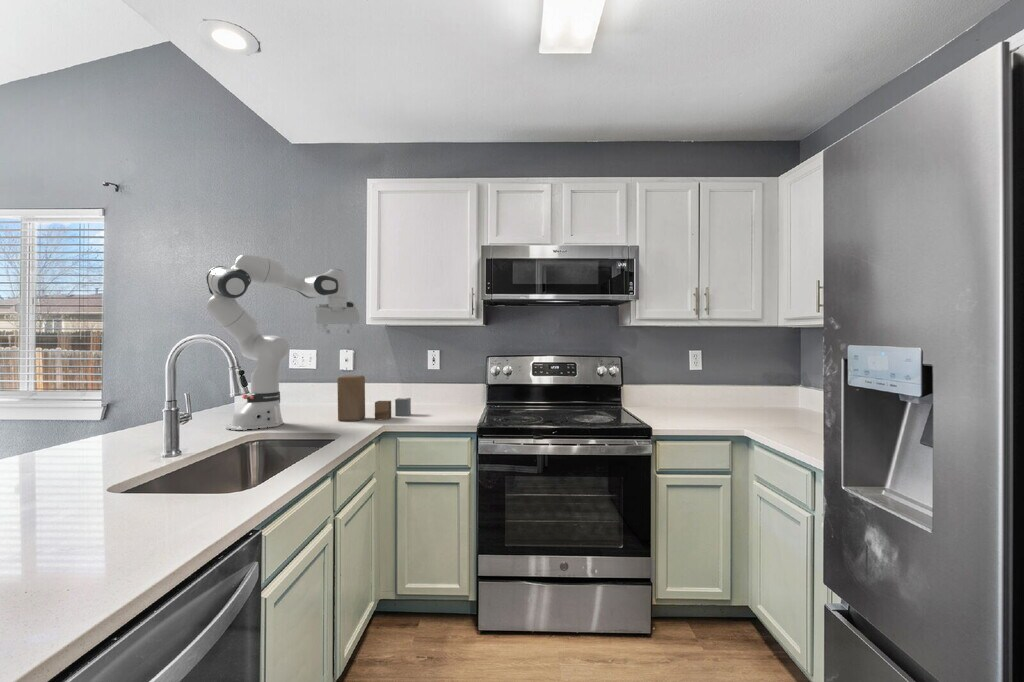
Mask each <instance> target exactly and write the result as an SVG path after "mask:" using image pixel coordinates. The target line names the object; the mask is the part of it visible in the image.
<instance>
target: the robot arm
mask: <svg viewBox="0 0 1024 682" xmlns="http://www.w3.org/2000/svg"><path fill="white" fill-rule="evenodd" d="M284 267H285V266H284V265H283V264H282V263H280V262H279V261H277V260H274V259H272V258H267V257H263V256H259V255H254V254H247V253H246V254H241V255H239V256H237V258H236V259H235V261H234V265H232V267H227V266H222V265H221V266H220V265H218V266H214V267H212V268H211V269H209V270H208V272H207V273H206V282H207V286H208V291H209V294H211V295H212V296H211V297H210V298H209V299H208V301H207V303H206V305H205V307H206V310H207V311H208V313H209V314H210V316H211V317H212V318H213V319H214V320H215V321H216V323H217V324H218V325H219V326H220V327H221V328H222V329H224V331H225V332H227V334H229V335H230V336H231V337H232V338H233V339H234V340H235V341H236V343H237V344H238V346H239V352H240V354H241V355H242V356H243V357H244V358H246V359H249V360H250V361H257V362H256V367H255V369H254V371H252V373H251V375H250V393H249V394H246V395H243V394H242V396H241V398H242V399H243V400H246V402H245V403H244V404H243V405H242V406H241V407H239V408H238V409H237V410H235V411H234V412H233V413H232V418H231V424H227V425H225V429H226V430H229V429H231V430H230V431H235V430H243V431H248V430H247V429H252V430H257V429H258V428H260V429H267V427H268V428H274V427H275V428H276V427H279V426H280V425H282V424H284V420H283V417H282V413H281V392H280V372H281V368H282V364H283V362H284V360H285V359H286V357H287V356H288V355H289V353H290V344H289V341H288V340H287V339H286V338H283V337H281V336H278V335H265V334H263V333H261V332H260V330H259V329H258V327H257V326H258V323H257V321H256V319H255V318H254V317H252V315H251V314H250V313H248V311H246V310H245V308H243V307H242V306H241V304H239V303H238V301H237V298H241V297H242V296H244V294H246V292H247V291H248V288H249V286H250V285H251V283H252V282H253V283H258V284H261V285H267V286H274V287H275V286H276V287H277V286H278V287H282V288H286V289H290V290H293V291H296V292H298V293H299V294H300V295H302V296H303V297H305V298H306V299H314V298H317V297H318V298H319V297H326V296H327V299H328V302H327V303H325V304H324V303H323V304H321V303H319V304H317V305H315V308H314V312H315V323H316V324H318V325H323V328H324V329H325V334H326V335H327V334H330V335H331V330H330V329H328V326H329V325H331V324H332V325H334V324H335V325H338V324H339V325H341V324H342V325H345V324H346V325H347V324H349V328H348V329H347V330H346V334H352V329H353V327H354V325H355V324H361V322H362V321H361V320H362V319H361V311H360V310H359V305H358V304H357V303H356V302H353V301H351V300H349V296H348V289H349V288H348V286H349V285H348V276H347V274H346V272H345V271H344V270H342V269H336V268H330V269H329V270H328V271H326V272H324V273H322V274H318V275H313V276H304V277H299V276H295V275H293V274H290V273H288V272H286V269H285V268H284ZM328 324H329V325H328Z"/></svg>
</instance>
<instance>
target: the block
mask: <svg viewBox="0 0 1024 682" xmlns="http://www.w3.org/2000/svg"><path fill="white" fill-rule="evenodd" d="M336 382H337V420H338V421H339V422H359V421H360V420H362V419H364V418H366V377H365V375H363V374H361V375H359V374H358V375H356V374H355V375H342V376H338V377H337V381H336Z"/></svg>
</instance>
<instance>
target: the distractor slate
mask: <svg viewBox="0 0 1024 682" xmlns="http://www.w3.org/2000/svg"><path fill="white" fill-rule="evenodd" d="M394 402H395V405H394V408H395V409H394V411H395V412H394V413H395V415H394V416H395V417H409V416H410V415H412V414H411V413H412V410H411V409H412V405H411V397H398V398H395V399H394Z"/></svg>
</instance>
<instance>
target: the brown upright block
mask: <svg viewBox="0 0 1024 682" xmlns="http://www.w3.org/2000/svg"><path fill="white" fill-rule="evenodd" d="M391 418H392V400H376V401H374V420H375V421H378V420H377V419H382V421H384V420H385V421H386V420H390V419H391Z"/></svg>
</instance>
